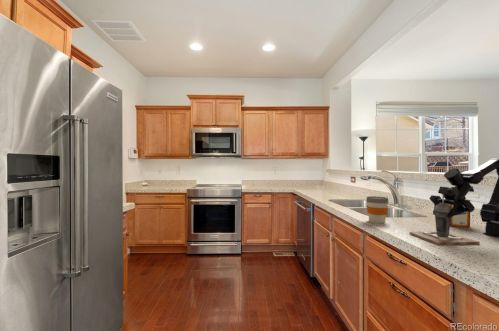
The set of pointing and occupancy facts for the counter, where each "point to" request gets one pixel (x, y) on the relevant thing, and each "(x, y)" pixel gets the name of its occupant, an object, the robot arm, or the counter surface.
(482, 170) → the robot arm
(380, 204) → the reusable coffee cup
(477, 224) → the counter surface
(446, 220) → the beverage cup
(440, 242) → the base board
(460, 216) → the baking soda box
